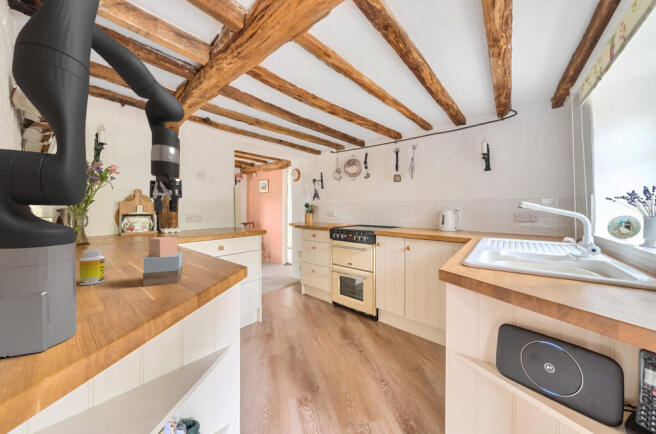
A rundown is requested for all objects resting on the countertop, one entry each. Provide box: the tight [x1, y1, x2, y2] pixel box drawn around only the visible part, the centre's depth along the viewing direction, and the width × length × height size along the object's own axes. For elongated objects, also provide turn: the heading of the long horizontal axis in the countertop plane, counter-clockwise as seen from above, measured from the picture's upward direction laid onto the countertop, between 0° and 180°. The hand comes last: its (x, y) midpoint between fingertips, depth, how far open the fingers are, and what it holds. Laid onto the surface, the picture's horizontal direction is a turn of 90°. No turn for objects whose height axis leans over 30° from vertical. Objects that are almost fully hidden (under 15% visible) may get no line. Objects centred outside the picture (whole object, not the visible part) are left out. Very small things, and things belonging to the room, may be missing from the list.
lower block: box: [142, 264, 183, 288], centre depth 76 cm, size 9×9×4 cm
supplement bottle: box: [78, 249, 106, 286], centre depth 72 cm, size 6×6×10 cm
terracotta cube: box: [148, 236, 179, 257], centre depth 75 cm, size 6×6×6 cm
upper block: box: [143, 251, 183, 273], centre depth 76 cm, size 9×9×4 cm
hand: (165, 211), depth 75 cm, fingers open, 8 cm apart
